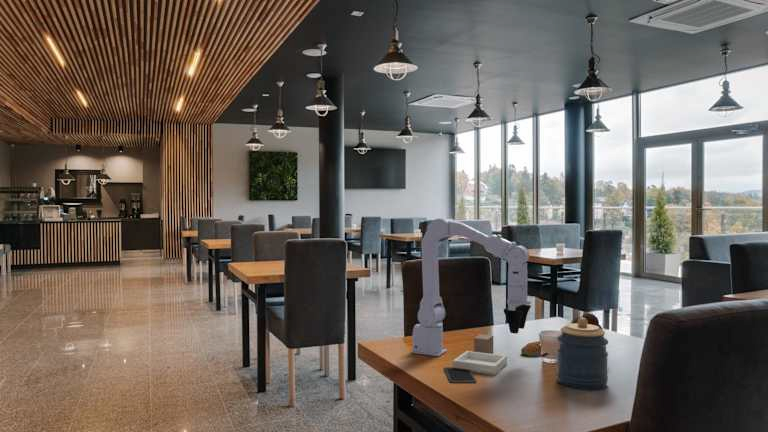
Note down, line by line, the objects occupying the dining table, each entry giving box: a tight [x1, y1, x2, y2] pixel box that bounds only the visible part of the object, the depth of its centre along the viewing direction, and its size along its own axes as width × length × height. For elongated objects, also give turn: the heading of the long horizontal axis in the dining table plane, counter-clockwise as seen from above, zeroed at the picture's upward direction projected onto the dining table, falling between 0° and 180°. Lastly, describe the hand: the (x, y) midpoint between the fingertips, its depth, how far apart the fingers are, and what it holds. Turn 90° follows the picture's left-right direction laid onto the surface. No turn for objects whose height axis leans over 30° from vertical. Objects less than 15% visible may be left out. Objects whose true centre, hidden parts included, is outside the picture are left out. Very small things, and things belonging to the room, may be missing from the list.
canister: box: [556, 318, 609, 391], centre depth 149 cm, size 13×13×18 cm
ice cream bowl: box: [570, 312, 606, 337], centre depth 170 cm, size 11×11×15 cm
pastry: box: [520, 340, 542, 357], centre depth 179 cm, size 9×7×4 cm
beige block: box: [473, 333, 494, 354], centre depth 177 cm, size 4×6×6 cm
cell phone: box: [443, 366, 477, 384], centre depth 155 cm, size 7×14×1 cm, turn 1°
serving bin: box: [452, 350, 508, 376], centre depth 164 cm, size 13×13×2 cm
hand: (517, 330), depth 167 cm, fingers open, 7 cm apart
